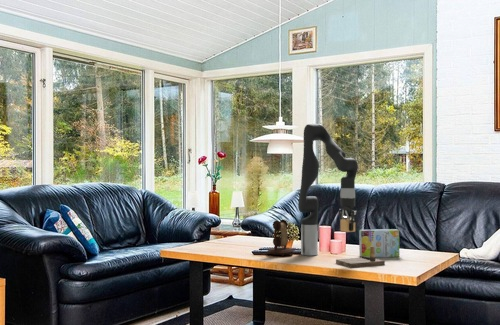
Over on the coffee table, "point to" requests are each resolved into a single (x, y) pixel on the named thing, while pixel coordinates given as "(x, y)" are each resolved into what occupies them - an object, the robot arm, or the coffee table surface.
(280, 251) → the brown upright piece
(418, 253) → the coffee table surface
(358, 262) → the board
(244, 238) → the coffee table surface
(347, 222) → the tan wooden block
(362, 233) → the snack box
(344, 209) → the robot arm
